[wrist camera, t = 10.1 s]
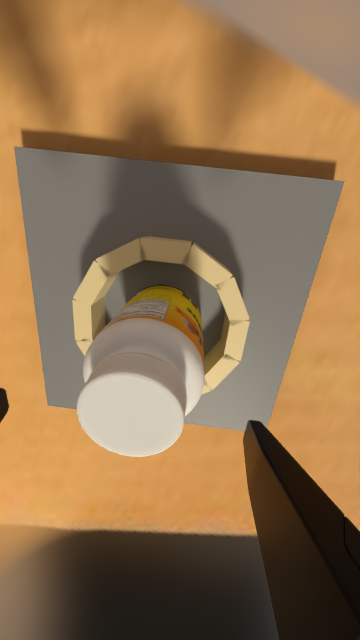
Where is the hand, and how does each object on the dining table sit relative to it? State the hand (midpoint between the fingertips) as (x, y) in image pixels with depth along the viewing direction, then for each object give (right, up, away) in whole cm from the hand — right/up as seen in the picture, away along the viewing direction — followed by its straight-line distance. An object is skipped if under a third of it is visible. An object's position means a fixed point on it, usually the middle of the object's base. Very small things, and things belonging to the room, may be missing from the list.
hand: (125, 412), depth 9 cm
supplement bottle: (+1, +4, +9) cm, 10 cm away
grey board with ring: (+1, +4, +10) cm, 11 cm away
